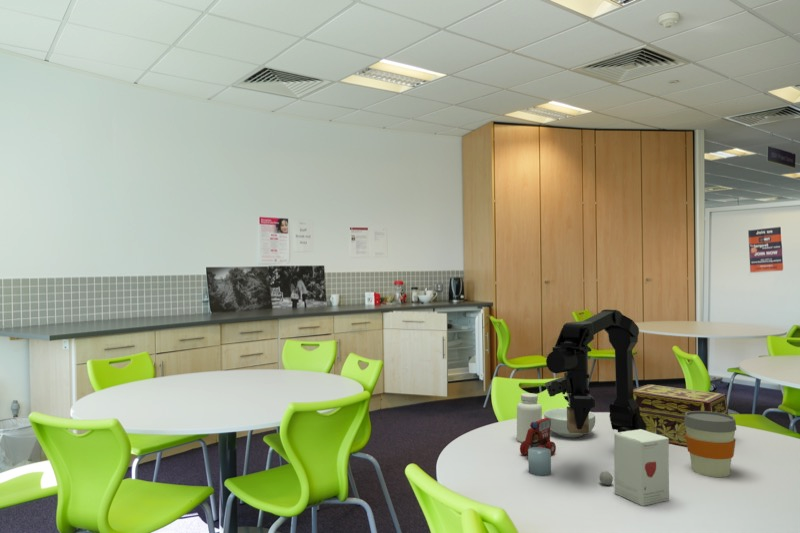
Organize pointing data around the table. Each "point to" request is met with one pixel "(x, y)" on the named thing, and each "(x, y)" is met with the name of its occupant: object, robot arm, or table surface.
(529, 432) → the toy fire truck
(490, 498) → the table surface
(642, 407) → the decorative box
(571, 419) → the walnut block
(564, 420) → the cereal bowl
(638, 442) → the supplement box
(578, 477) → the table surface
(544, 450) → the blue domed cylinder
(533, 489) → the table surface
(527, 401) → the pill bottle
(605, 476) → the grey ball
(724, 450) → the reusable coffee cup
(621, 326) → the robot arm
